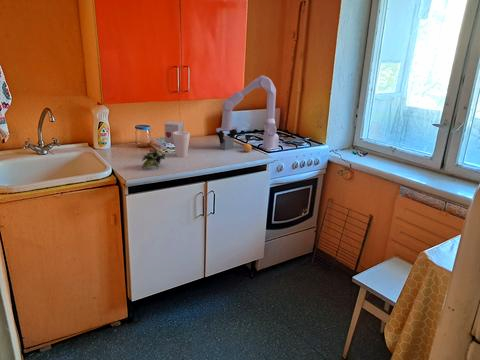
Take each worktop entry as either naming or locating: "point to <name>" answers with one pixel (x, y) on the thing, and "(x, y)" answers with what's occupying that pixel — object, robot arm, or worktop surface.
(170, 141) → the supplement box
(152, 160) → the green leafy clump
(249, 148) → the ball
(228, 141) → the grey cube
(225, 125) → the robot arm
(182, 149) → the foam cup
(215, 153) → the worktop surface
